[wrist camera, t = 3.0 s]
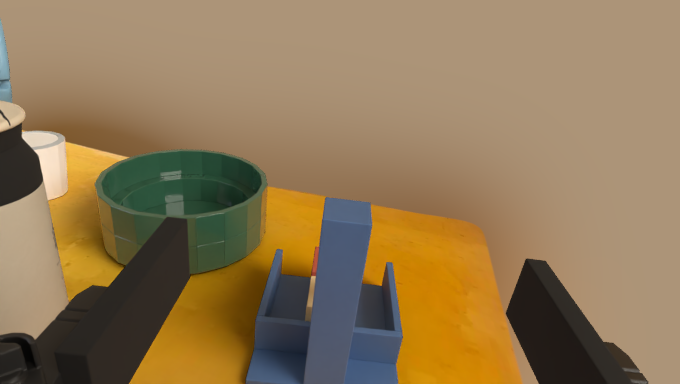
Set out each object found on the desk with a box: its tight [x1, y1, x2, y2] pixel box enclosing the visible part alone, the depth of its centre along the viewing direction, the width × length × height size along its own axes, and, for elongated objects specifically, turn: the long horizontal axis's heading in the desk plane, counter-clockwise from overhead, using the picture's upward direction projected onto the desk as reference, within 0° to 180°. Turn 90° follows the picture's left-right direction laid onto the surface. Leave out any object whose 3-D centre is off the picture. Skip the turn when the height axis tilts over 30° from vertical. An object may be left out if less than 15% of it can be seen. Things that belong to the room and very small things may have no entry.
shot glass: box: [22, 131, 68, 200], centre depth 51 cm, size 7×7×7 cm
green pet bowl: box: [95, 149, 267, 274], centre depth 47 cm, size 17×17×7 cm
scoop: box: [245, 197, 403, 384], centre depth 34 cm, size 13×12×15 cm
